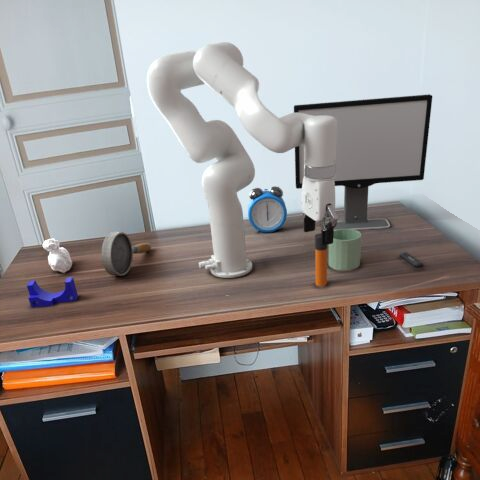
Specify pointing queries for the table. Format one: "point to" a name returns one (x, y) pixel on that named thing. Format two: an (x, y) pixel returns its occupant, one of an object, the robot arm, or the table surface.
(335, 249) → the pen holder
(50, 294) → the blue cradle stand
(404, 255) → the usb stick
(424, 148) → the computer monitor
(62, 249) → the bust
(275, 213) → the alarm clock
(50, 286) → the table surface
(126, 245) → the frying pan
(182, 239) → the table surface
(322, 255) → the marker
